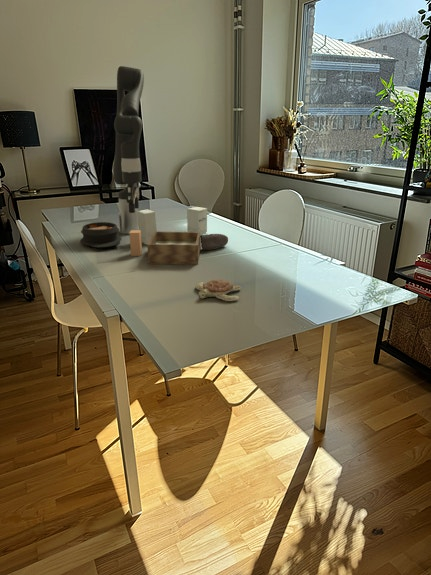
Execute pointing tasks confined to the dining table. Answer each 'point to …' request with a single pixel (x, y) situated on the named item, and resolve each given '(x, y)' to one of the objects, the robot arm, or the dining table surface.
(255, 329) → the dining table surface
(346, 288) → the dining table surface
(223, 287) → the decorative turtle
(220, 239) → the perforated stone tool
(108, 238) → the casserole
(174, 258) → the walnut box
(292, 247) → the dining table surface
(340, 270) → the dining table surface
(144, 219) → the skincare box
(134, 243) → the terracotta peg
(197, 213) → the supplement box
